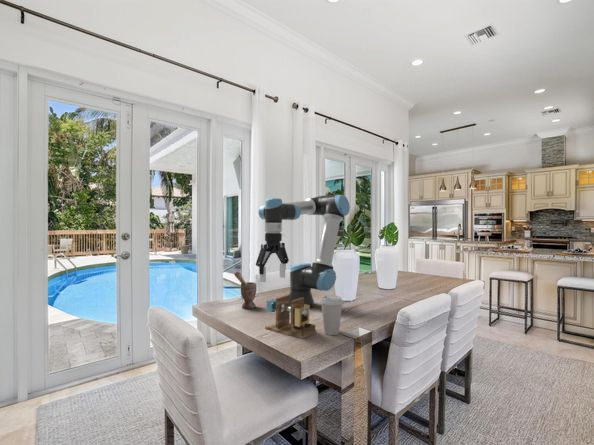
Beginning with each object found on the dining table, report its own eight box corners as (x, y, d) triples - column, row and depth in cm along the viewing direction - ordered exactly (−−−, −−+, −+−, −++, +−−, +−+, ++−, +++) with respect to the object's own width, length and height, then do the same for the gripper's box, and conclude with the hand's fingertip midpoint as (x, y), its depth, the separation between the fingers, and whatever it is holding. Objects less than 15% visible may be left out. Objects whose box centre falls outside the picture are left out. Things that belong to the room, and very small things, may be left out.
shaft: (266, 311, 140) (266, 301, 140) (273, 309, 143) (273, 299, 143) (303, 319, 128) (303, 308, 128) (309, 317, 132) (309, 306, 132)
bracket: (265, 328, 137) (265, 296, 137) (279, 322, 145) (279, 292, 145) (302, 338, 125) (302, 304, 125) (315, 331, 133) (315, 299, 133)
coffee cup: (318, 328, 137) (318, 294, 137) (340, 328, 138) (340, 294, 138) (322, 336, 127) (322, 300, 127) (345, 336, 128) (345, 300, 128)
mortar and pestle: (240, 311, 162) (240, 273, 162) (232, 307, 169) (232, 271, 169) (259, 307, 169) (259, 271, 169) (251, 304, 176) (251, 269, 176)
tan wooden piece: (294, 325, 129) (294, 307, 129) (304, 321, 135) (304, 304, 135) (299, 326, 127) (299, 308, 127) (309, 322, 133) (309, 305, 133)
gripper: (260, 233, 128) (260, 284, 128) (296, 232, 149) (295, 276, 149) (247, 232, 133) (247, 282, 133) (283, 231, 153) (283, 275, 153)
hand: (272, 279), depth 141 cm, fingers open, 13 cm apart
